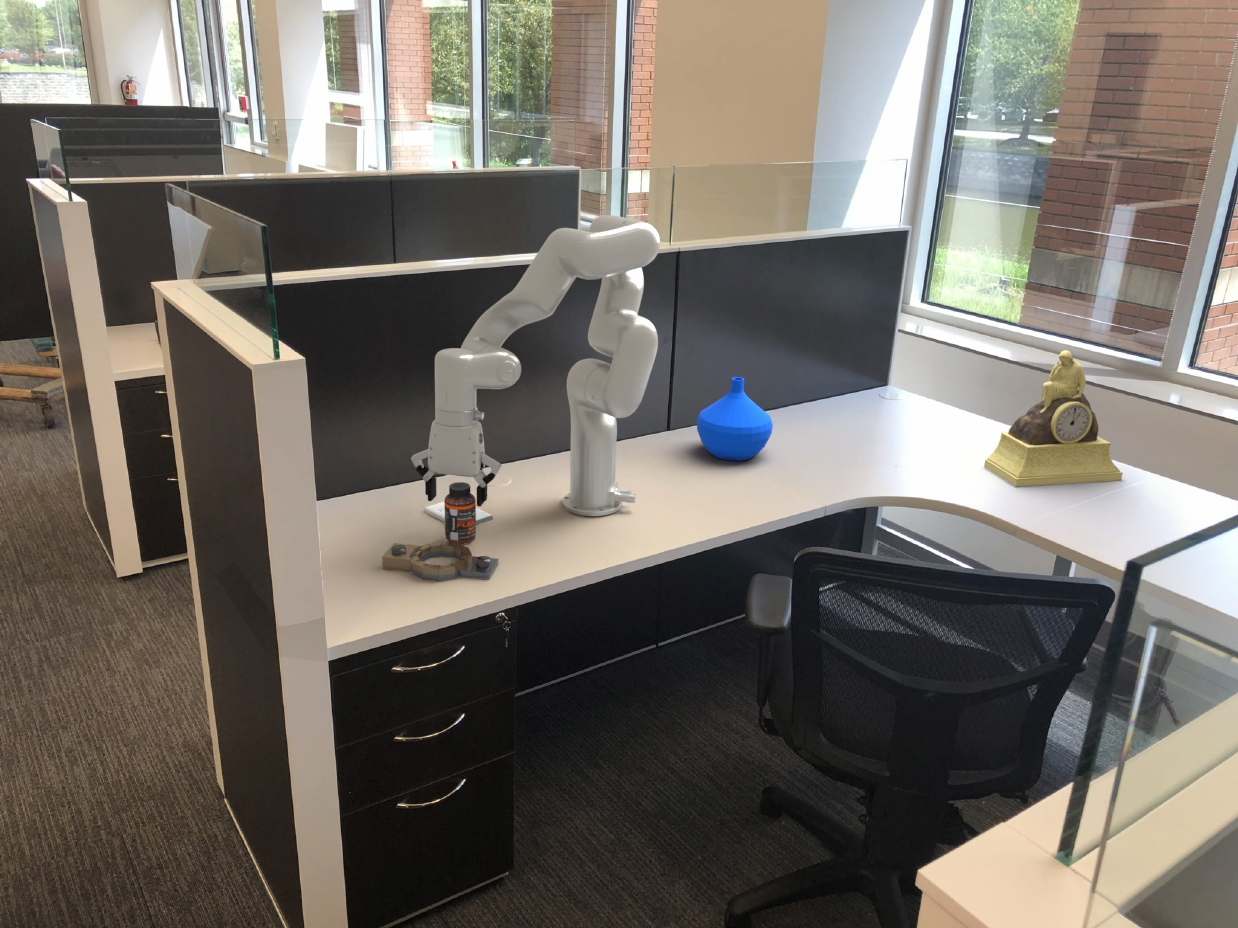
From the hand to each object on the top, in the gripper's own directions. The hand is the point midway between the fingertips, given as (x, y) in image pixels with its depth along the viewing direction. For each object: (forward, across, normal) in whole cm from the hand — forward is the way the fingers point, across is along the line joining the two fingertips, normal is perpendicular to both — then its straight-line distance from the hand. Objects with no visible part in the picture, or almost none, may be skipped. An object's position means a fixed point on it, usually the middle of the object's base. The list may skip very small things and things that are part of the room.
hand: (456, 501), depth 185 cm
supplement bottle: (+8, -1, -1) cm, 8 cm away
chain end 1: (+8, +2, +11) cm, 14 cm away
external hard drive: (+9, +3, -12) cm, 15 cm away
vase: (+6, -51, -62) cm, 80 cm away
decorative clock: (+4, -127, -66) cm, 143 cm away
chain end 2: (+8, -3, +11) cm, 14 cm away
